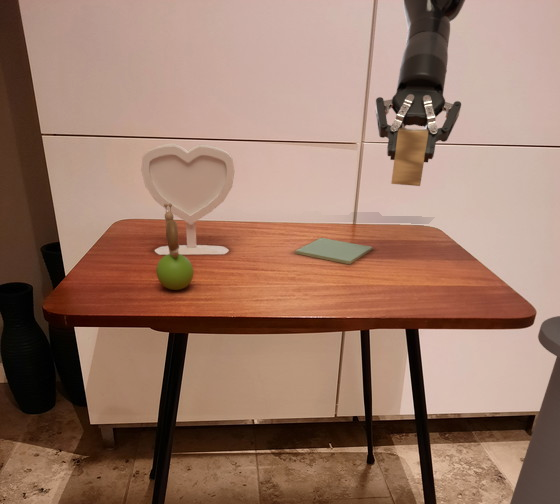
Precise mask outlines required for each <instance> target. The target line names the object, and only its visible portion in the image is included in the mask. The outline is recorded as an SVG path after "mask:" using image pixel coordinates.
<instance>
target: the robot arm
mask: <svg viewBox="0 0 560 504" xmlns="http://www.w3.org/2000/svg"><path fill="white" fill-rule="evenodd" d="M402 1H403V2H402V3H403V12H404V17H405V24H406V28H407V35H406V41H405V47H404V50H403V53H402V56H401V61H400V62H401V63H400V67H399V75H398V81H397V86H396V92H395V93H394V95H393V96H392V98H390V99H385V100H384V98H383V97H381V96H379V97H376V99H375V117H376V123H377V129H378V135H379V137H380V138H381V139H382V138H387V139H388V142H387V148H386V155H387V157H390V161H394V158H395V152H396V143H397V135H398V130H399V128H406V127H407V126H418V127H423V129H428V138H427V145H426V151H425V158H424V163H429V160H433V158H434V155H435V152H436V151H435V149H436V143H437V142H443V143H445V142H447V141H448V139H449V137H450V135H451V133H452V131H453V129H454V127H455V125H456V123H457V121H458V118H459V116H460V112H461V108H462V102H461V101H459V100H456V101H454V102H453V103H450V102H446V98H445V97H444V90H445V84H446V77H447V72H448V62H449V61H448V60H449V42H450V37H451V36H450V35H451V23H452V22H453V21H454V20H455V19H456V18H457V17H458V16H459V14H460V13H461V11H462V9H463V6H464V4H465V2H466V0H402ZM391 109H392V111H393V113H394V114H395V115H396V116H395V119H394V121H393V122H392V124H388V120H387V116H388V114H389V113H390V110H391ZM442 112H444V118H446V119H445V120H444V123H443V124H442V127H439V128H438V125H437V121H436V118H437V117H438V116H439V115H440V114H441V113H442Z"/></svg>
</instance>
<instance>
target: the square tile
mask: <svg viewBox="0 0 560 504" xmlns="http://www.w3.org/2000/svg"><path fill="white" fill-rule="evenodd" d="M372 251H373V246H369V245H364V244H360V243H359V244H357V243H353V242H348V241H342V240H336V239H330V238H325V237H320V238H318V239H316V240H313V241H312V242H310V243H308V244H305V245H303V246H302V247H300V248H298V249H296V250H295V251H294V254H295V255H300V256H305V257H310V258H314V259H315V258H316V259H319V260H325V261H330V262H334V263H340V264H346V265H352V264H353V263H354V262H356V261H357V260H359V259H361V258H362V257H364V256H365V255H367V254H368V253H370V252H372Z"/></svg>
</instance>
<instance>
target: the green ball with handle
mask: <svg viewBox="0 0 560 504" xmlns="http://www.w3.org/2000/svg"><path fill="white" fill-rule="evenodd" d="M167 206H168V205H167V204H166V203H165V204H164V207H167ZM164 207H163V208H164ZM169 207H170V212H169V211H167V210H165V213H164V220H165V238H166V243H167V246H168V248H169V252H170V254H168V255H164V256H162V257H161V258H160V260H159V261H158V263H157V265H156V278H157V279H158V281H159V283H160V285H162V286H163V287H164V288H166V289H168V290H172V291H180V290H183V289H185V288H187V286H189V285H190V284H191V282H192V280H193V278H194V267H193V263H191V261H190V260H189V258H188V257H186V256H185V255H181V254H179V252H178V249H179V245H180V244H179V231H178V229H179V228H178V223H177V221H175V220H174V214H172V213H171V207H172V204H171V203H169Z"/></svg>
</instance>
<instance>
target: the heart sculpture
mask: <svg viewBox="0 0 560 504" xmlns="http://www.w3.org/2000/svg"><path fill="white" fill-rule="evenodd" d="M140 171H141V174H142V178H143V183H144V186H145V189H146V190H147V191H148V193H149V194H150V195H151V197H152V198H153V200H154V201H155V202H156V203H157V204H159V205H160V206H161V207H162V208H163V209H165V211H167V212H170V207H169V203H171V204H172V207H171V213H172V214H173V216H176V217H177V218H179V219H181V220H183V221H184V222H185V230H186V244H179V249H178V252H179V254H181V255H183V256H185V255H226V254H227V253H229V251H230V249H228V248H227V247H225V246H222V245H207V244H197V224H196V223H197V221H199V220H200V219H202V218H203V217H205V216H207V215H208V214H210V213H212V212H214V210H216V208H218V207H219V206H220V205H221V204H222V203H224V201H225V200H226V198H227V197H228V195H229V193H230V191H231V190H232V188H233V184H234V176H235V166H234V160H233V157H232V155H231V154H230V153H228V151H226V150H225V149H223V148H220V147H217V146H214V145H211V144H202V143H201V144H197V145H194V146H192V147H191V148H190V149H189V150H188V149H186V148H185V147H184V146H182V145H179V144H177V143H166V144H165V143H164V144H161V145H156V146H154V147H152V148H149V149H147V151H146V152H145V153H144V154H143V155H142V157H141V169H140ZM165 203H166V204H167V205H168V206H167V207H164V204H165ZM154 253H156V254H157V255H159V256H161V255H164V256H165V255H168V254H170V252H169V248H168V245H162V246H159V247H157V248H155V249H154Z"/></svg>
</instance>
